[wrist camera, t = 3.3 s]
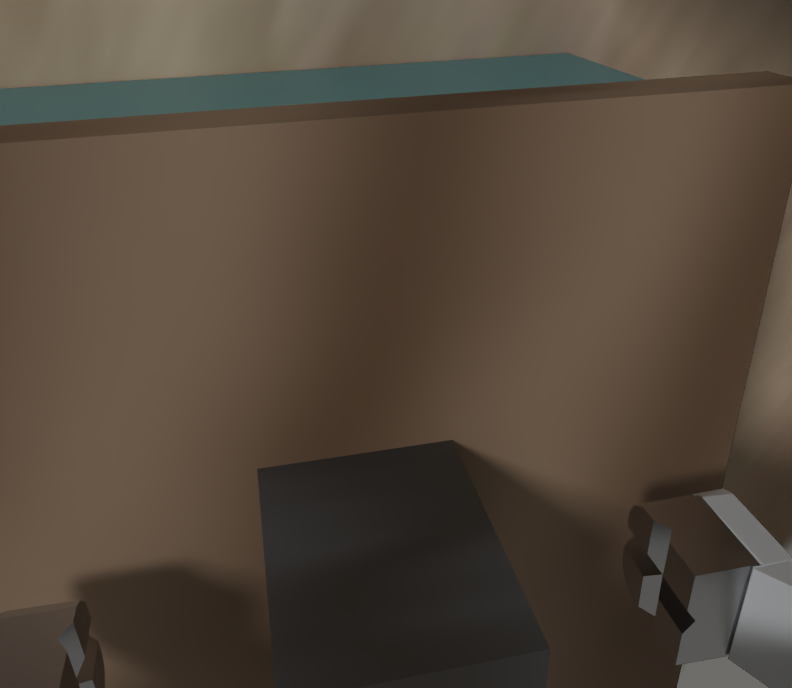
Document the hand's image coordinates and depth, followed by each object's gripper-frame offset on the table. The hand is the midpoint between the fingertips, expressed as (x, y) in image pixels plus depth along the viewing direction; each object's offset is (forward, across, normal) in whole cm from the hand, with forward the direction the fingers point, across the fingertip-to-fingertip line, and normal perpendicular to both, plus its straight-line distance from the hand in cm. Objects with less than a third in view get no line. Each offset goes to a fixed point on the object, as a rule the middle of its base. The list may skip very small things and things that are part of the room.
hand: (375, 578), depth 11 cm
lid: (+2, 0, 0) cm, 2 cm away
